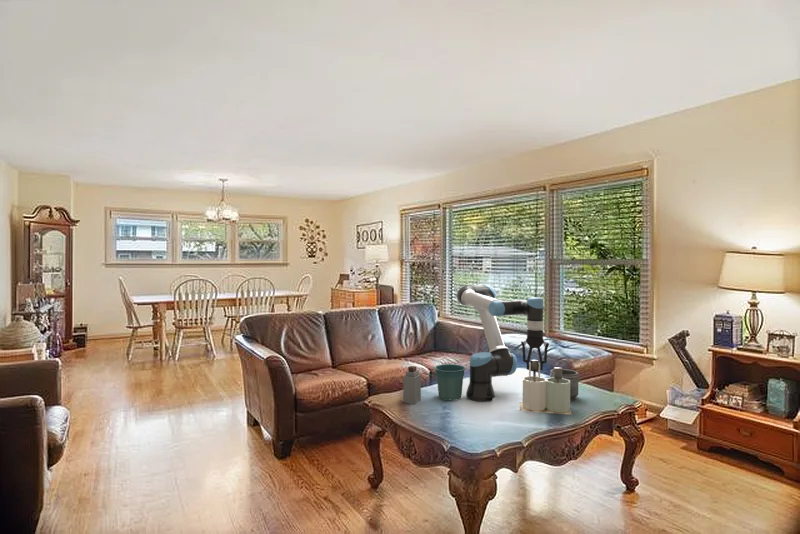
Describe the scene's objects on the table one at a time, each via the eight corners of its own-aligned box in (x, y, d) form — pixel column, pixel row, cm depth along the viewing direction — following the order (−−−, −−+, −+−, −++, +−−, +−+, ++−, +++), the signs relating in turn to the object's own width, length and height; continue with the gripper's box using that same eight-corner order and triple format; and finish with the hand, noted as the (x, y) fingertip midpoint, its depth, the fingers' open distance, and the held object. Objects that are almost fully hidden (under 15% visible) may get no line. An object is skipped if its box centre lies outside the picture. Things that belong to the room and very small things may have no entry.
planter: (580, 404, 240) (580, 375, 240) (551, 403, 243) (551, 374, 243) (575, 396, 254) (576, 369, 254) (548, 395, 257) (548, 367, 257)
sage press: (546, 411, 225) (547, 370, 225) (544, 402, 239) (545, 363, 239) (570, 413, 223) (571, 371, 222) (567, 404, 236) (568, 364, 236)
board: (519, 413, 227) (519, 410, 227) (519, 404, 240) (519, 402, 240) (572, 417, 221) (572, 414, 221) (568, 408, 235) (568, 405, 235)
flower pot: (436, 402, 243) (436, 371, 243) (432, 393, 259) (433, 363, 259) (467, 402, 244) (468, 371, 243) (462, 392, 260) (462, 363, 260)
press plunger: (525, 393, 229) (526, 361, 228) (525, 388, 237) (525, 358, 236) (543, 394, 227) (544, 362, 226) (542, 390, 235) (543, 359, 234)
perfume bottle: (403, 402, 243) (403, 367, 242) (409, 398, 249) (409, 364, 248) (415, 404, 240) (415, 368, 239) (420, 400, 246) (421, 366, 245)
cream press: (522, 409, 228) (523, 381, 227) (522, 401, 242) (522, 374, 241) (546, 411, 225) (546, 382, 225) (544, 402, 239) (544, 375, 239)
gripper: (517, 329, 229) (516, 377, 230) (553, 331, 225) (553, 379, 226) (517, 327, 237) (516, 373, 237) (552, 328, 233) (551, 375, 233)
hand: (534, 376), depth 231 cm, fingers closed on press plunger, 4 cm apart
